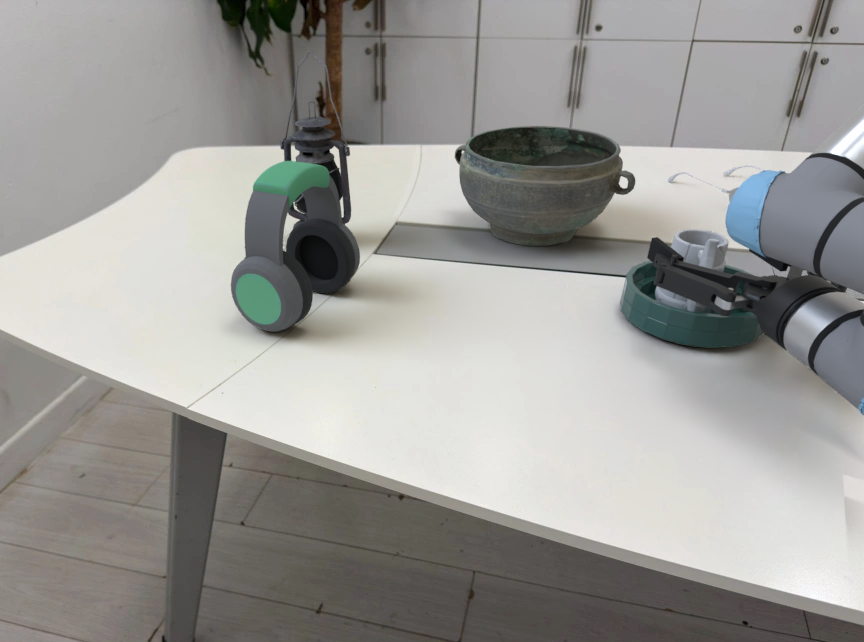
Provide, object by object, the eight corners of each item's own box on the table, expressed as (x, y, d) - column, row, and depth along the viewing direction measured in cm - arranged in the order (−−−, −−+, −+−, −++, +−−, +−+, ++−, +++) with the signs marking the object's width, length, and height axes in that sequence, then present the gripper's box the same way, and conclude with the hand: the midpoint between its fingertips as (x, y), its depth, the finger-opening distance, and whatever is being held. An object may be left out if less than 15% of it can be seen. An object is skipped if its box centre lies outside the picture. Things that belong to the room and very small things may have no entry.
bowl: (412, 233, 118) (414, 145, 110) (488, 194, 135) (495, 115, 126) (586, 279, 101) (605, 180, 92) (650, 228, 117) (670, 139, 109)
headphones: (296, 346, 87) (284, 193, 76) (229, 327, 91) (208, 180, 80) (366, 288, 100) (364, 151, 89) (304, 274, 105) (295, 143, 94)
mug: (708, 296, 93) (733, 212, 87) (724, 338, 84) (753, 247, 77) (649, 291, 95) (669, 209, 88) (658, 332, 86) (681, 243, 79)
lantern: (273, 248, 114) (254, 53, 98) (303, 227, 122) (290, 44, 105) (338, 259, 110) (330, 57, 93) (365, 236, 118) (362, 46, 101)
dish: (771, 308, 92) (783, 274, 89) (752, 367, 80) (765, 330, 77) (638, 280, 100) (645, 248, 97) (602, 330, 88) (609, 295, 85)
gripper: (688, 364, 69) (603, 277, 87) (915, 346, 71) (787, 264, 88) (708, 298, 65) (614, 221, 82) (949, 280, 67) (806, 209, 84)
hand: (703, 243), depth 85 cm, fingers open, 13 cm apart
